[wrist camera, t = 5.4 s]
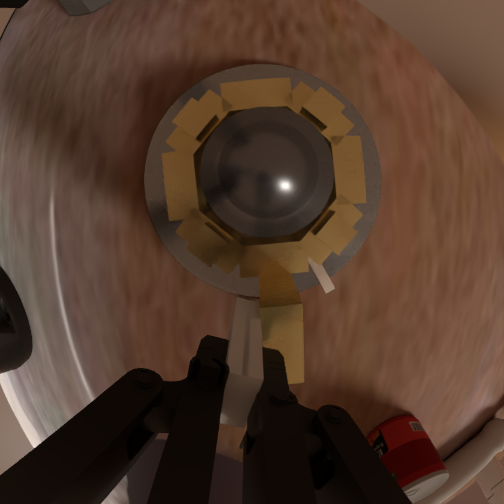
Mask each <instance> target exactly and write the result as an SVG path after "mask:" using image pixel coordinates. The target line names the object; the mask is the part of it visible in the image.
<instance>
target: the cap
mask: <svg viewBox="0 0 504 504" xmlns="http://www.w3.org/2000/svg"><path fill="white" fill-rule="evenodd" d="M270 78H290V84H291V91H292V90H293V89H294V88H295V87H296V86H297V85H298V84H299V83H300V82H301V81H302V82H303V83H304V84H306V85H307V86H308V87H310V88H311V89H312V90H314V91H315V92H317V91H318V89H319V88H320V87H321V86H322V87H323V88H324V89H325V90H327V91H328V92H329V93H330V94H332V95H333V96H334V97H335V98H336V99H338V100H339V101H340V102H341V103H342V104H343V105H345V106H346V107H345V108H344V109H343V110H342V111H341V112H340V113H342V114H343V115H344V116H345V117H346V118H347V119H348V120H349V121H351V122H352V123H353V124H354V126H353V127H352V129H351V130H350V131H349V132H348V133H347V135H346V136H360V138H361V146H362V155H363V164H364V175H365V187H366V202H367V203H357V204H353V205H354V206H355V207H356V208H357V209H358V210H359V211H360V212H361V213H362V214H363V215H362V216H361V218H360V219H359V220H358V221H357V223H356V224H355V225H354V226H353V228H354V229H355V230H356V231H357V232H358V233H357V234H356V235H355V236H354V237H353V239H352V240H351V241H350V242H349V243H348V245H347V246H346V247H345V248H344V249H343V250H342V252H341V253H340V254H339V255H337V254H335V253H334V252H333V251H332V252H331V254H330V255H329V256H328V257H327V258H326V259H325V261H324V262H323V263H322V264H321V265H320V266H319V265H318V264H317V263H315V262H314V261H313V260H312V259H311V258H310V257H308V265H309V272H301V273H291V275H292V278H293V281H294V283H295V286H296V288H297V291H298V292H300V291H303V290H306V289H308V288H311V287H313V286H315V285H317V284H319V283H321V285H322V287H323V289H324V291H325V292H326V294H327V293H328V292H330V291H332V290H333V289H335V287H334V286H333V284H332V282H331V280H330V278H329V277H331V276H332V275H334V274H335V273H336V272H337V271H339V270H340V269H341V268H342V267H343V266H345V265H346V264H347V263H348V262H349V260H350V259H351V258H352V257H353V256H354V255H355V254H356V253H357V251H358V250H359V248H360V247H361V246H362V244H363V243H364V241H365V240H366V238H367V236H368V234H369V232H370V230H371V228H372V226H373V223H374V220H375V217H376V215H377V211H378V206H379V202H380V195H381V167H380V161H379V156H378V152H377V148H376V145H375V142H374V139H373V137H372V135H371V133H370V131H369V129H368V126H367V125H366V123H365V121H364V120H363V118H362V117H361V115H360V114H359V112H358V111H357V110H356V109H355V107H354V106H353V105H352V104H351V103H350V102H349V100H348V99H346V98H345V97H344V96H343V95H342V94H341V93H340V92H339V91H338V90H336V89H335V88H334V87H332V86H331V85H329V84H328V83H326V82H325V81H323V80H321V79H319V78H317V77H315V76H313V75H311V74H309V73H306V72H304V71H301V70H298V69H295V68H291V67H286V66H281V65H272V64H252V65H244V66H238V67H233V68H230V69H227V70H223V71H220V72H218V73H215V74H213V75H211V76H209V77H207V78H205V79H203V80H202V81H200V82H198V83H197V84H195V85H194V86H192V87H191V88H190V89H188V90H187V91H186V92H185V93H184V94H182V95H181V96H180V97H179V98H178V99H177V100H176V101H175V102H174V104H173V105H172V106H171V107H170V108H169V109H168V111H167V112H166V114H165V115H164V117H163V118H162V119H161V121H160V123H159V125H158V127H157V129H156V131H155V133H154V135H153V137H152V140H151V143H150V146H149V149H148V153H147V158H146V163H145V174H144V186H145V197H146V202H147V207H148V211H149V214H150V217H151V220H152V223H153V225H154V227H155V229H156V231H157V233H158V235H159V237H160V239H161V241H162V242H163V244H164V245H165V246H166V248H167V249H168V251H169V252H170V253H171V254H172V255H173V257H174V258H175V259H176V260H177V261H178V262H179V263H180V264H181V265H182V266H183V267H185V268H186V269H187V270H188V271H189V272H190V273H192V274H193V275H195V276H196V277H198V278H199V279H201V280H202V281H204V282H206V283H208V284H210V285H212V286H214V287H216V288H219V289H221V290H224V291H227V292H230V293H234V294H239V295H244V296H252V297H259V277H249V278H241V276H240V268H239V263H238V264H237V266H236V267H235V268H234V269H233V270H232V272H231V273H230V274H229V275H228V274H227V273H226V272H225V271H223V270H222V269H221V268H219V267H218V266H217V265H216V264H213V265H212V266H211V268H210V267H208V266H207V265H206V264H205V263H203V262H202V261H201V260H199V259H198V258H197V257H196V256H194V255H193V254H192V253H191V252H189V251H188V250H187V249H186V247H187V246H188V244H189V243H188V242H187V241H186V240H184V239H183V238H182V237H181V236H179V235H178V234H177V233H176V230H177V229H178V227H179V226H180V225H181V223H182V222H183V221H184V219H183V220H176V221H169V216H168V208H167V200H166V192H165V183H164V173H163V162H162V154H163V153H168V152H173V151H177V150H175V149H174V148H173V147H171V146H170V145H169V144H167V143H166V140H167V139H168V138H169V136H170V135H171V134H172V133H173V131H174V130H175V129H176V128H177V125H176V124H174V123H173V122H172V121H173V120H174V118H175V117H176V116H177V115H178V113H179V112H180V111H181V110H182V109H183V107H184V106H185V105H186V104H187V103H188V102H189V100H190V99H191V98H193V99H195V100H196V101H199V100H200V99H201V98H202V97H203V96H204V94H205V93H206V92H207V91H208V90H209V89H210V90H211V91H213V92H214V93H216V94H217V95H218V96H220V97H221V86H220V84H221V83H228V82H237V81H246V80H257V79H270ZM221 98H222V97H221ZM200 177H201V184H202V189H203V192H204V194H205V197H206V199H207V206H208V208H209V209H210V210H211V211H213V212H214V213H215V214H216V215H218V217H219V218H220V219H221V220H223V221H224V222H225V223H226V224H228V225H229V226H231V227H232V228H234V229H235V230H236V231H238V232H239V233H240V234H241V235H243V236H244V237H245V238H250V237H264V238H271V237H280V236H285V235H288V234H293V233H295V232H296V231H298V230H300V229H302V228H303V227H305V226H307V225H308V224H309V223H310V222H312V221H313V220H314V219H315V218H316V217H317V216H318V215H319V214H320V212H321V211H322V210H323V208H324V207H325V205H326V203H327V201H328V199H329V197H330V194H331V191H332V187H333V182H334V163H333V158H332V154H331V151H330V148H329V146H328V144H327V142H326V140H325V139H324V137H323V136H322V134H321V133H320V132H319V131H318V129H317V128H316V127H315V126H314V125H313V124H312V123H310V122H309V121H308V120H307V119H305V118H304V117H302V116H301V115H299V114H297V113H295V112H292V111H289V110H287V109H283V108H278V107H269V106H267V107H255V108H250V109H247V110H244V111H241V112H239V113H237V114H234V115H233V116H231V117H230V118H228V119H227V120H225V121H224V122H223V123H222V124H221V125H220V126H219V127H218V128H217V129H216V130H215V131H214V132H213V134H212V135H211V137H210V138H209V140H208V142H207V144H206V146H205V148H204V151H203V154H202V159H201V166H200Z"/></svg>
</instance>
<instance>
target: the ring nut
mask: <svg viewBox="0 0 504 504" xmlns="http://www.w3.org/2000/svg"><path fill="white" fill-rule="evenodd" d="M220 86H221V97H222V98H221V97H220V96H218V95H217V94H216V93H214V92H213V91H211V90H210V89H209V90H208V91H207V92H206V93H205V94H204V96H203V97H202V98H201V99H200V100H199V101H196V100H195V99H193V98H191V99H190V100H189V102H188V103H187V104H186V105H185V106H184V107H183V109H182V110H181V111H180V112H179V113H178V115H177V116H176V117H175V118H174V120H173V121H172V122H173V123H174V124H176V125H177V128H176V129H175V130H174V131H173V133H172V134H171V135H170V136H169V138H168V139H167V140H166V143H167V144H169V145H170V146H171V147H173V148H174V149H175V150H177V151H173V152H168V153H163V154H162V162H163V173H164V183H165V192H166V200H167V208H168V216H169V221H176V220H183V219H184V221H183V222H182V223H181V225H180V226H179V227H178V229H177V230H176V233H177V234H178V235H179V236H181V237H182V238H183V239H184V240H186V241H187V242H188V243H189V244H188V246H187V247H186V249H187V250H188V251H189V252H191V253H192V254H193V255H194V256H196V257H197V258H198V259H199V260H201V261H202V262H203V263H205V264H206V265H207V266H208V267H210V268H211V266H212V265H213V264H216V265H217V266H218V267H219V268H221V269H222V270H223V271H225V272H226V273H227V274H228V275H229V274H230V273H231V272H232V270H233V269H234V268H235V267H236V266H237V264H238V263H239V268H240V276H241V278H249V277H259V305H260V318H261V327H262V337H263V347H266V348H271V349H276V350H279V351H280V353H281V354H282V355H283V357H284V361H285V367H286V373H287V379H288V384H294V383H303V382H304V339H303V307H302V302H301V299H300V296H299V294H298V291H297V288H296V286H295V283H294V281H293V278H292V275H291V273H301V272H309V265H308V257H310V258H311V259H312V260H313V261H314V262H315V263H317V264H318V265H319V266H320V265H321V264H322V263H323V262H324V261H325V259H326V258H327V257H328V256H329V255H330V254H331V252H332V251H333V252H334V253H335V254H337V255H339V254H340V253H341V252H342V250H343V249H344V248H345V247H346V246H347V245H348V243H349V242H350V241H351V240H352V239H353V237H354V236H355V235H356V234H357V233H358V232H357V231H356V230H355V229H354V228H353V226H354V225H355V224H356V223H357V221H358V220H359V219H360V218H361V216H362V215H363V214H362V213H361V212H360V211H359V210H358V209H357V208H356V207H355V206H354V205H353V204H357V203H367V202H366V187H365V175H364V164H363V155H362V146H361V138H360V136H346V135H347V133H348V132H349V131H350V130H351V129H352V127H353V126H354V124H353V123H352V122H351V121H349V120H348V119H347V118H346V117H345V116H344V115H343V114H342V113H340V112H341V111H342V110H343V109H344V108H345V107H346V106H345V105H343V104H342V103H341V102H340V101H339V100H338V99H336V98H335V97H334V96H333V95H332V94H330V93H329V92H328V91H327V90H325V89H324V88H323V87H322V86H321V87H320V88H319V89H318V91H317V92H315V91H314V90H312V89H311V88H310V87H308V86H307V85H306V84H304V83H303V82H302V81H301V82H300V83H299V84H298V85H297V86H296V87H295V88H294V89H293V90H292V91H291V84H290V78H270V79H257V80H246V81H237V82H228V83H221V84H220ZM267 106H269V107H278V108H283V109H287V110H289V111H292V112H295V113H297V114H299V115H301V116H302V117H304V118H305V119H307V120H308V121H309V122H310V123H312V124H313V125H314V126H315V127H316V128H317V129H318V131H319V132H320V133H321V134H322V136H323V137H324V139H325V140H326V142H327V144H328V146H329V148H330V151H331V154H332V158H333V163H334V182H333V187H332V191H331V194H330V197H329V199H328V201H327V203H326V205H325V207H324V208H323V210H322V211H321V212H320V214H319V215H318V216H317V217H316V218H315V219H314V220H313V221H312V222H310V223H309V224H308V225H307V226H305V227H303V228H302V229H300V230H298V231H296V232H295V233H293V234H288V235H285V236H280V237H271V238H264V237H250V238H245V237H244V236H243V235H241V234H240V233H239V232H238V231H236V230H235V229H234V228H232V227H231V226H229V225H228V224H226V223H225V222H224V221H223V220H221V219H220V218H219V217H218V215H216V214H215V213H214V212H213V211H211V210H210V209H209V208H208V206H207V199H206V197H205V194H204V192H203V189H202V184H201V177H200V166H201V159H202V154H203V151H204V148H205V146H206V144H207V142H208V140H209V138H210V137H211V135H212V134H213V132H214V131H215V130H216V129H217V128H218V127H219V126H220V125H221V124H222V123H223V122H224V121H225V120H227V119H228V118H230V117H231V116H233V115H234V114H237V113H239V112H241V111H244V110H247V109H250V108H255V107H267Z"/></svg>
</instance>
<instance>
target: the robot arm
mask: <svg viewBox="0 0 504 504" xmlns="http://www.w3.org/2000/svg"><path fill="white" fill-rule="evenodd" d="M31 353H32V336H31V330H30V326H29V322H28V319H27V316H26V313H25V310H24V308H23V305H22V303H21V300H20V298H19V296H18V294H17V292H16V290H15V288H14V287H13V285H12V283H11V282H10V280H9V278H8V277H7V276H6V274H5V273H4V272H3V270H2V269H1V268H0V374H1V373H4V372H7V371H10V370H14V369H17V368H19V367H20V366H21V365H22V364H24V363H25V362H26V361H27V360H28V359H29V358H30V356H31ZM220 423H221V424H226V425H231V426H237V427H242V428H244V427H245V425H246V423H247V430H246V433H245V435H244V437H243V440H242V442H241V444H240V447H239V448H241V449H242V447H243V484H242V485H243V487H242V504H412V502H411V501H410V499H409V498H408V497H407V495H406V494H405V493H404V491H403V490H402V488H401V487H400V486H399V484H398V483H397V481H396V480H395V479H394V477H393V476H392V474H391V473H390V472H389V470H388V469H387V467H386V466H385V465H384V463H383V462H382V460H381V459H380V458H379V456H378V455H377V453H376V452H375V451H374V449H373V448H372V446H371V445H370V443H369V442H368V441H367V439H366V438H365V436H364V435H363V433H362V432H361V431H360V429H359V428H358V426H357V425H356V424H355V422H354V421H353V419H352V418H351V416H350V415H349V414H348V413H347V412H346V411H345V410H344V409H342V408H341V407H338V406H335V405H324V406H322V407H321V408H319V409H318V411H315V410H312V409H309V408H306V407H304V406H302V405H300V404H298V400H297V398H296V396H295V395H294V394H293V393H292V392H291V391H289V385H288V379H287V373H286V367H285V361H284V357H283V355H282V354H281V353H280V351H279V350H276V349H271V348H266V347H262V335H261V318H260V305H259V302H255V301H251V300H246V299H242V298H238V297H237V299H236V303H235V306H234V310H233V314H232V318H231V322H230V326H229V329H228V333H227V337H226V339H222V338H218V337H214V336H210V335H207V336H205V337H204V338H203V339H201V342H200V345H199V348H198V351H197V354H196V356H195V357H193V358H192V359H191V361H190V365H189V370H188V376H187V378H185V379H183V380H181V381H172V382H170V381H163V379H162V378H161V376H160V375H159V374H157V373H156V372H155V371H152V370H149V369H145V368H137V369H133V370H131V371H129V372H127V373H126V374H125V375H124V376H122V377H121V378H120V379H119V380H118V381H116V382H115V383H114V384H113V385H112V386H110V387H109V388H108V389H107V390H106V391H104V392H103V393H102V394H101V395H100V396H98V397H97V398H96V399H95V400H93V401H92V402H91V403H90V404H89V405H87V406H86V407H85V408H84V409H82V410H81V411H80V412H79V413H78V414H76V415H75V416H74V417H73V418H71V419H70V420H69V421H68V422H67V423H65V424H64V425H63V426H62V427H60V428H59V429H58V430H57V431H55V432H54V433H53V434H52V435H50V436H49V437H48V438H47V439H46V440H44V441H43V442H42V443H41V444H39V445H38V446H37V447H36V448H34V449H33V450H32V451H31V452H29V453H28V454H27V455H26V456H24V457H23V458H22V459H20V460H19V461H18V462H17V463H15V464H14V465H13V466H12V467H10V468H9V469H8V470H7V471H5V472H4V473H3V474H1V475H0V504H101V503H102V502H103V501H104V499H105V498H106V497H107V496H108V495H109V494H110V492H111V491H112V490H113V489H114V488H115V487H116V485H117V484H118V483H119V482H120V481H121V479H122V478H123V477H124V476H125V475H126V473H127V472H128V471H129V470H130V469H131V467H132V466H133V465H134V464H135V463H136V461H137V460H138V459H139V458H140V456H141V455H142V454H143V453H144V451H145V450H146V449H147V447H148V446H149V445H150V444H151V443H152V441H153V440H154V439H155V438H156V436H157V435H158V433H169V435H168V438H167V441H166V444H165V447H164V450H163V453H162V456H161V460H160V463H159V466H158V469H157V472H156V475H155V479H154V482H153V485H152V488H151V492H150V495H149V498H148V502H147V504H208V501H209V494H210V487H211V480H212V472H213V465H214V458H215V451H216V445H217V438H218V431H219V424H220ZM243 445H244V446H243Z"/></svg>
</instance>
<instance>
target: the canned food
mask: <svg viewBox="0 0 504 504" xmlns="http://www.w3.org/2000/svg"><path fill="white" fill-rule="evenodd" d="M367 441H368V442H369V443H370V445H371V446H372V448H373V449H374V451H375V452H376V453H377V455H378V456H379V458H380V459H381V460H382V462H383V463H384V465H385V466H386V467H387V469H388V470H389V472H390V473H391V474H392V476H393V477H394V479H395V480H396V481H397V483H398V484H399V486H400V487H401V488H402V490H403V491H404V493H405V494H406V495H407V497H408V498H409V499H410V501H411V502H412V504H413V503H415V502H417V501H419V500H421V499H423V498H425V497H427V496H428V495H430V494H431V493H433V492H434V491H436V490H437V489H438V488H439V487H441V486H442V485H443V484H444V483H445V482H446V480H447V479H448V477H449V473H448V470H447V468H446V466H445V464H444V463H443V461H442V459H441V457H440V456H439V454H438V452H437V450H436V449H435V447H434V445H433V443H432V442H431V440H430V438H429V437H428V435H427V433H426V432H425V430H424V428H423V427H422V425H421V423H420V422H419V420H418V419H416V418H415V417H414V416H411V415H402V416H397V417H394V418H392V419H389V420H387V421H385V422H384V423H382V424H380V425H379V426H378V427H376V428H375V429H374V430H373V431H372V432H371V433H370V434H369V435H368V437H367Z"/></svg>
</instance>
